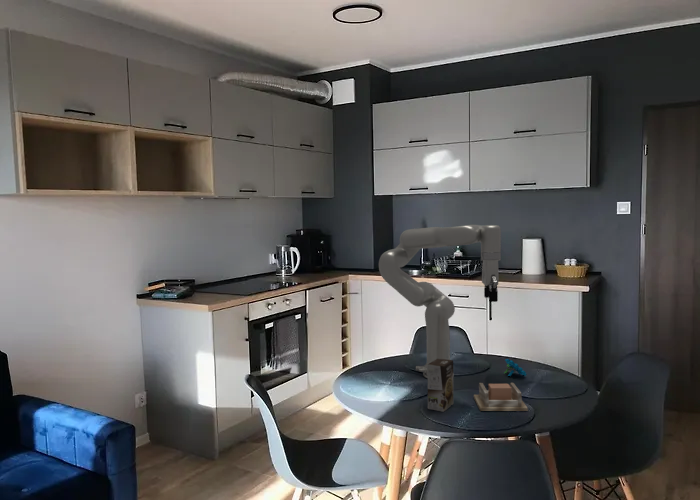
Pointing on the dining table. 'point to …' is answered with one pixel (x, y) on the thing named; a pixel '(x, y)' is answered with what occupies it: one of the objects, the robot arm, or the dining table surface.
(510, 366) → the toy dinosaur
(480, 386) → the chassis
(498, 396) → the brown block
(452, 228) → the robot arm
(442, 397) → the coffee box
